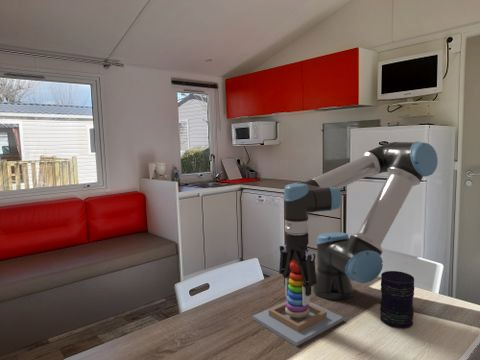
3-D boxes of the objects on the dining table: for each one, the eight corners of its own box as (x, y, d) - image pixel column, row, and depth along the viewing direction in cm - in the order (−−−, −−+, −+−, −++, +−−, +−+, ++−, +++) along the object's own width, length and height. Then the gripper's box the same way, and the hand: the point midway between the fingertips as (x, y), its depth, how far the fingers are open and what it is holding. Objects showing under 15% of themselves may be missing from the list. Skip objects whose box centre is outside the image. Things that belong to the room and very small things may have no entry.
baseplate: (298, 299, 130) (298, 291, 130) (343, 320, 114) (343, 311, 114) (252, 319, 117) (252, 310, 116) (296, 346, 101) (296, 336, 101)
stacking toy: (309, 320, 111) (309, 263, 108) (284, 318, 112) (283, 262, 110) (309, 308, 118) (309, 254, 116) (286, 306, 120) (285, 253, 118)
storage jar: (407, 332, 106) (408, 285, 104) (375, 321, 113) (376, 277, 111) (417, 319, 114) (418, 275, 112) (386, 310, 120) (387, 268, 118)
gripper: (267, 228, 117) (268, 293, 120) (312, 241, 102) (313, 315, 105) (283, 224, 122) (284, 287, 125) (329, 236, 106) (329, 307, 109)
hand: (297, 299), depth 115 cm, fingers open, 7 cm apart
